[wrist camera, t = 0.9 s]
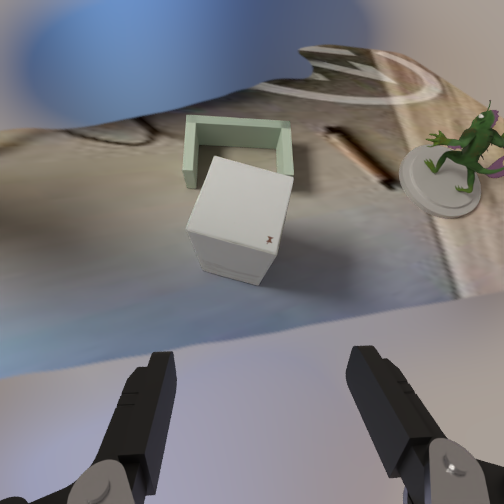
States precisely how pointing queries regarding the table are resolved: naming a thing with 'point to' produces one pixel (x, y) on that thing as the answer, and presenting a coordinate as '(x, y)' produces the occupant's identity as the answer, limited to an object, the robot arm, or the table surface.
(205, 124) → the holder
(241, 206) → the supplement box
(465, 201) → the monster figurine
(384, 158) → the table surface
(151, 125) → the table surface
